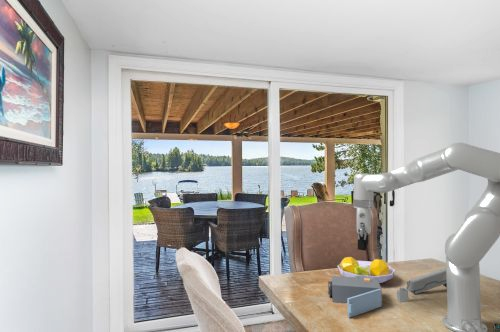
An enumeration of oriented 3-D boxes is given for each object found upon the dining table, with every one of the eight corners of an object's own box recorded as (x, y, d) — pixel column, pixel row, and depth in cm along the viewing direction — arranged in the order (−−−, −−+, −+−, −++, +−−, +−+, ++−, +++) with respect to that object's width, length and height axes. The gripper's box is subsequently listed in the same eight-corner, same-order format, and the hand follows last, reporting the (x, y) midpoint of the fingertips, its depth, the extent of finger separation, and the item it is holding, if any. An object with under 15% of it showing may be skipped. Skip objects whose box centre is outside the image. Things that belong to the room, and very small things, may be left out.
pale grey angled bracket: (399, 302, 128) (399, 282, 129) (397, 300, 130) (396, 281, 130) (415, 300, 130) (414, 281, 130) (412, 299, 131) (411, 279, 132)
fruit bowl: (357, 268, 175) (357, 248, 175) (406, 281, 153) (405, 257, 153) (324, 279, 158) (323, 256, 159) (373, 295, 136) (372, 268, 137)
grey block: (381, 306, 125) (381, 286, 125) (328, 301, 130) (328, 282, 130) (377, 294, 136) (377, 276, 137) (328, 291, 141) (328, 273, 142)
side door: (384, 306, 123) (383, 289, 124) (351, 318, 114) (350, 299, 114) (380, 305, 125) (380, 288, 125) (347, 316, 115) (347, 298, 116)
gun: (463, 287, 140) (458, 266, 140) (414, 305, 136) (409, 282, 136) (459, 285, 142) (454, 264, 142) (410, 302, 138) (405, 280, 138)
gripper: (372, 207, 116) (371, 253, 116) (374, 202, 132) (374, 243, 132) (351, 205, 119) (350, 251, 119) (355, 201, 135) (355, 241, 135)
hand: (363, 247), depth 125 cm, fingers open, 9 cm apart
